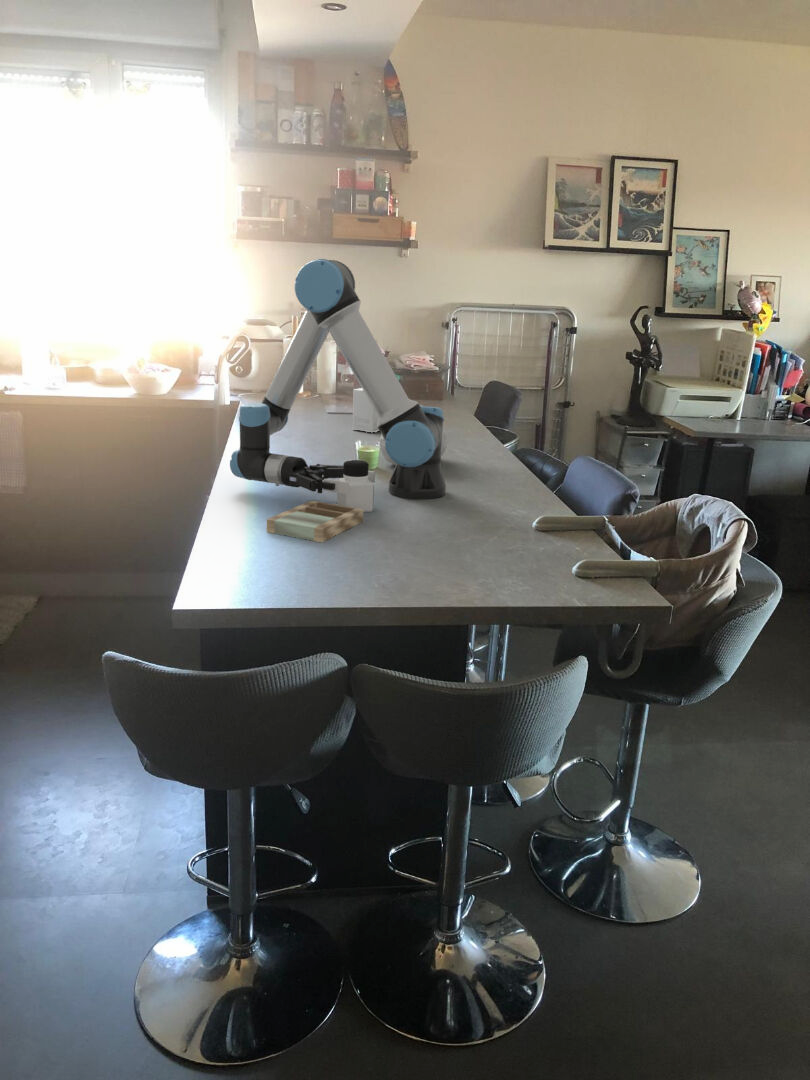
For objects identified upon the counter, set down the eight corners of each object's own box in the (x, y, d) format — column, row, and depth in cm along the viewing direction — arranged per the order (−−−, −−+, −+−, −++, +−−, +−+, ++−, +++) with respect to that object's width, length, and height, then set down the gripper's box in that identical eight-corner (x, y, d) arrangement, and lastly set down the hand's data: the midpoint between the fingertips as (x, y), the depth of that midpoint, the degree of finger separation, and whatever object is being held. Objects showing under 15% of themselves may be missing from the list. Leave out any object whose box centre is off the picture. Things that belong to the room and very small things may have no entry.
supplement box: (386, 430, 317) (387, 389, 312) (372, 433, 309) (373, 391, 305) (365, 427, 321) (366, 386, 317) (351, 430, 314) (352, 388, 309)
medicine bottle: (373, 511, 211) (375, 463, 207) (345, 513, 208) (346, 464, 205) (363, 504, 217) (365, 457, 214) (336, 506, 215) (337, 458, 211)
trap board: (311, 512, 208) (311, 500, 207) (363, 521, 202) (363, 509, 201) (266, 532, 191) (266, 519, 190) (321, 542, 186) (322, 529, 185)
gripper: (312, 475, 230) (384, 487, 222) (259, 495, 209) (336, 508, 200) (312, 448, 228) (385, 458, 220) (258, 465, 206) (336, 477, 198)
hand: (362, 482), depth 210 cm, fingers open, 13 cm apart
